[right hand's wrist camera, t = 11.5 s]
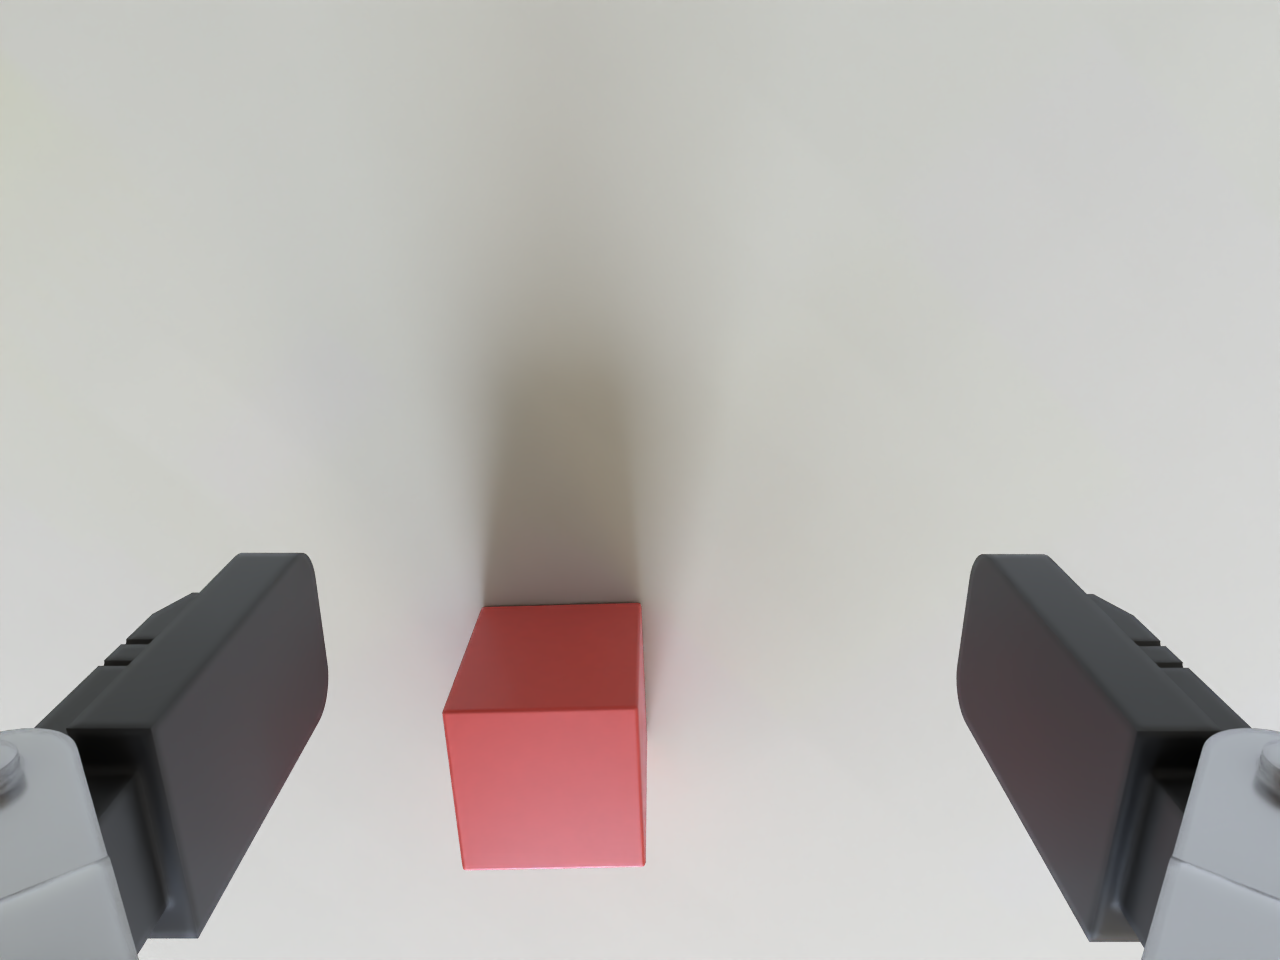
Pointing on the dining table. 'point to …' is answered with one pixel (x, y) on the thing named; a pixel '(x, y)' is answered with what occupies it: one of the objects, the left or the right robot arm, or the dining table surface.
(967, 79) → the dining table surface
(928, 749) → the dining table surface
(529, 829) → the block
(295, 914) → the dining table surface
